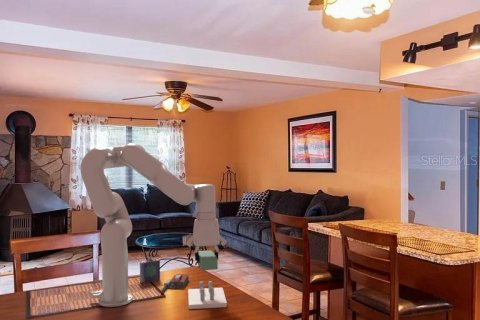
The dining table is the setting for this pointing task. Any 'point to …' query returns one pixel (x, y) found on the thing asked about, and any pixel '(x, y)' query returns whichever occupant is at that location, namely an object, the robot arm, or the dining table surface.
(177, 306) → the dining table surface
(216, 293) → the standoff plate
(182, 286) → the walkie-talkie
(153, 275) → the flask
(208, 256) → the green boxy piece
